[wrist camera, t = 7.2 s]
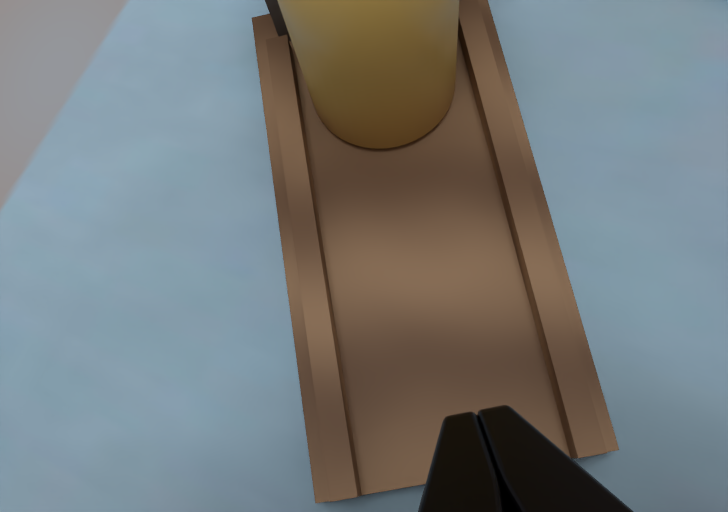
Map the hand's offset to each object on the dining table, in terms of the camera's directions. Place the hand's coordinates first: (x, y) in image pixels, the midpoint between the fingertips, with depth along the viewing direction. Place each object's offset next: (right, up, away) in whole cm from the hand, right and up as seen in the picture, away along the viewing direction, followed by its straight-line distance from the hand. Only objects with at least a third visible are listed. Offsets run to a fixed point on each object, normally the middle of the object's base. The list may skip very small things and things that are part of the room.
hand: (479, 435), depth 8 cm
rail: (0, +4, +14) cm, 15 cm away
